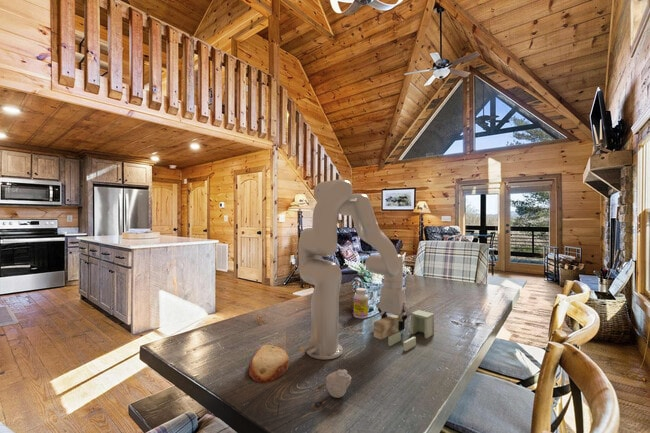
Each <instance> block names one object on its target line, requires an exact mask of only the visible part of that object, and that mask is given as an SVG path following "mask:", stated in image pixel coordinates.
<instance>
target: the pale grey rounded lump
mask: <svg viewBox="0 0 650 433" xmlns="http://www.w3.org/2000/svg"><path fill="white" fill-rule="evenodd" d="M348 373H349V372H348V370H347V369H337V371H332V372H331V373H329V374H328V375H327V376H325V386H326V389H327V390H328V393H329V395H330V396H331V397H332V398H337V399H339V398H342V397H344V395H346V392H347V389H348V387H350V385H351V383H352V376H351V375H350V374H348Z"/></svg>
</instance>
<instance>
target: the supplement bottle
mask: <svg viewBox="0 0 650 433" xmlns="http://www.w3.org/2000/svg"><path fill="white" fill-rule="evenodd" d="M355 292H356V293H355V294H354V295H353V317H354V318H356V319H361V320H362V319H363V320H364V319H367V318H368V317H369V295H368V294H366V293H367V288H363V287H357V288H356V289H355Z"/></svg>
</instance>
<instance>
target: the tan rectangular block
mask: <svg viewBox="0 0 650 433" xmlns="http://www.w3.org/2000/svg"><path fill="white" fill-rule="evenodd" d="M399 321H400V319H399V317H398V315H395V314H390V315H387V317H385V318H382V319H381V318H380V319H378V320H376V321H373V337H374V338H376V339H378V340H383V339H385V338H388V337H389V336H391V335H393V334H395V333H397V332H400V331H399V330H398V329H399Z"/></svg>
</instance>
